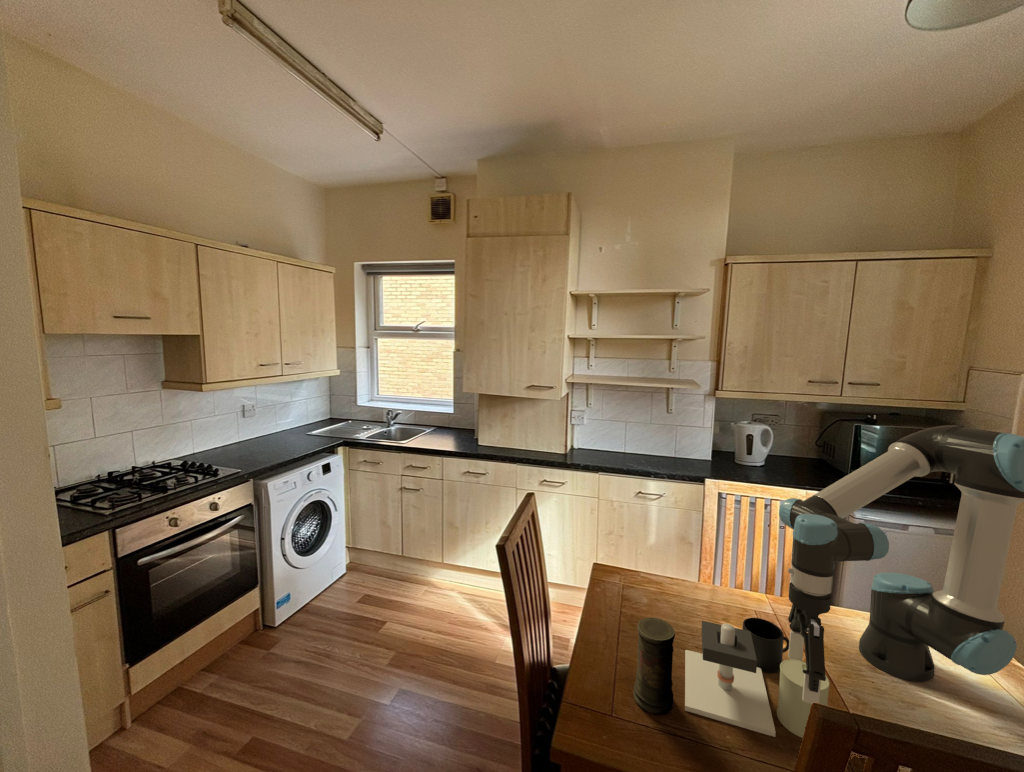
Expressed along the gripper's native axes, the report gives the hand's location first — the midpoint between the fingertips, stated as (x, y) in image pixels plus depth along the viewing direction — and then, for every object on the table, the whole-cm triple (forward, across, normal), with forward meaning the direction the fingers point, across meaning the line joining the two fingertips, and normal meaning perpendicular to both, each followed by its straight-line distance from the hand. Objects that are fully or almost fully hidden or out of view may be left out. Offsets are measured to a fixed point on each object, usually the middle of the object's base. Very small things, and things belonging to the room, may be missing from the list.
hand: (802, 679), depth 96 cm
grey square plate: (0, -4, -15) cm, 15 cm away
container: (+11, +6, -30) cm, 33 cm away
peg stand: (+10, -4, -14) cm, 18 cm away
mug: (+10, -19, -4) cm, 22 cm away
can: (+10, 0, 0) cm, 10 cm away
